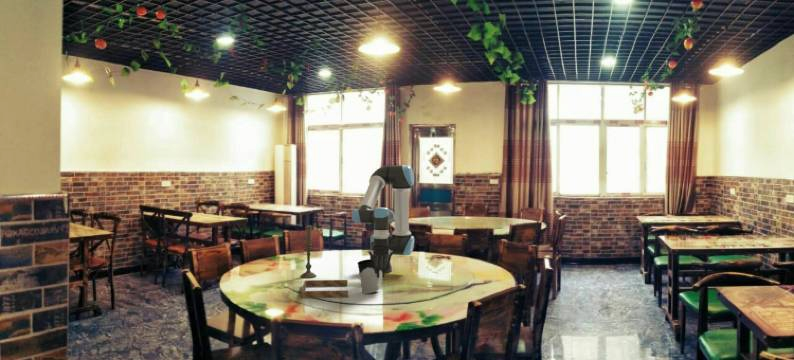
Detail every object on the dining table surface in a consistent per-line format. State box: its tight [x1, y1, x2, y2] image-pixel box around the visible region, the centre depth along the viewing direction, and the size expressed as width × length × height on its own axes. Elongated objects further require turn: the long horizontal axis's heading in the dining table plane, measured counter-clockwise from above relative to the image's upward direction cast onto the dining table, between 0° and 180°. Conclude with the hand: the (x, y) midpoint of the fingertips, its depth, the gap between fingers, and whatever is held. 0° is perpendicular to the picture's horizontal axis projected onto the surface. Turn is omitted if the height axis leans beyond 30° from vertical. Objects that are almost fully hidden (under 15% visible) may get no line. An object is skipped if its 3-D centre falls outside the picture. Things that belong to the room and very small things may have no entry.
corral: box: [300, 279, 349, 299], centre depth 246 cm, size 22×24×3 cm
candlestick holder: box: [299, 225, 317, 279], centre depth 279 cm, size 9×9×30 cm
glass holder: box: [357, 258, 380, 294], centre depth 248 cm, size 9×14×15 cm, turn 15°
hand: (380, 283), depth 249 cm, fingers closed
